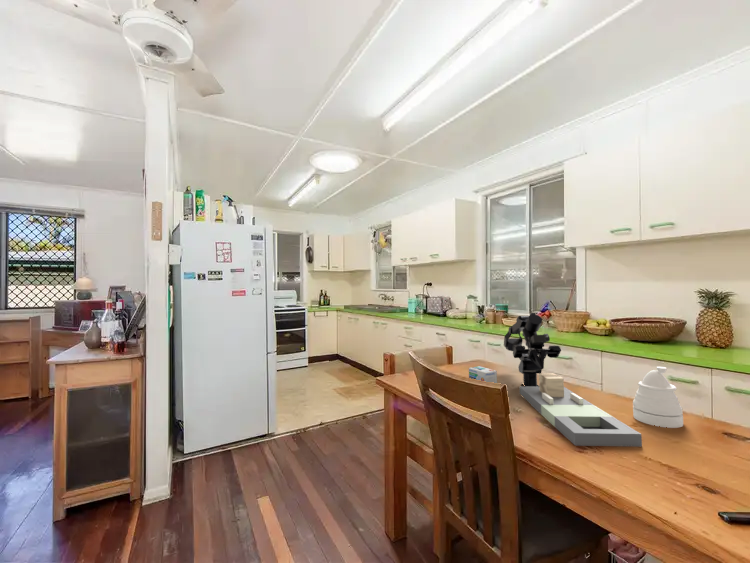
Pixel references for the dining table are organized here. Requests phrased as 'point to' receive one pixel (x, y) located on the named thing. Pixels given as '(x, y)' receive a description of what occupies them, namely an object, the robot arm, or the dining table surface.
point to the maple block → (551, 384)
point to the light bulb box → (483, 374)
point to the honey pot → (657, 401)
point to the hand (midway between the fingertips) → (542, 368)
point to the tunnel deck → (581, 419)
